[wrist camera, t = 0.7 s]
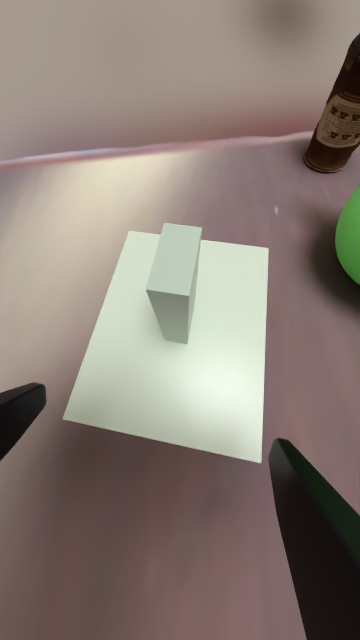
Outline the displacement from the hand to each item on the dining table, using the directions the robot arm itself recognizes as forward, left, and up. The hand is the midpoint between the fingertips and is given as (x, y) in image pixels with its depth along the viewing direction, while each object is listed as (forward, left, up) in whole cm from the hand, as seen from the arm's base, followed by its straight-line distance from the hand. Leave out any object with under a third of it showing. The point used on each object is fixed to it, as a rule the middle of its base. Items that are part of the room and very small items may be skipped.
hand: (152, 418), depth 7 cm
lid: (+5, +5, -9) cm, 12 cm away
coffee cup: (+41, +16, -14) cm, 46 cm away
